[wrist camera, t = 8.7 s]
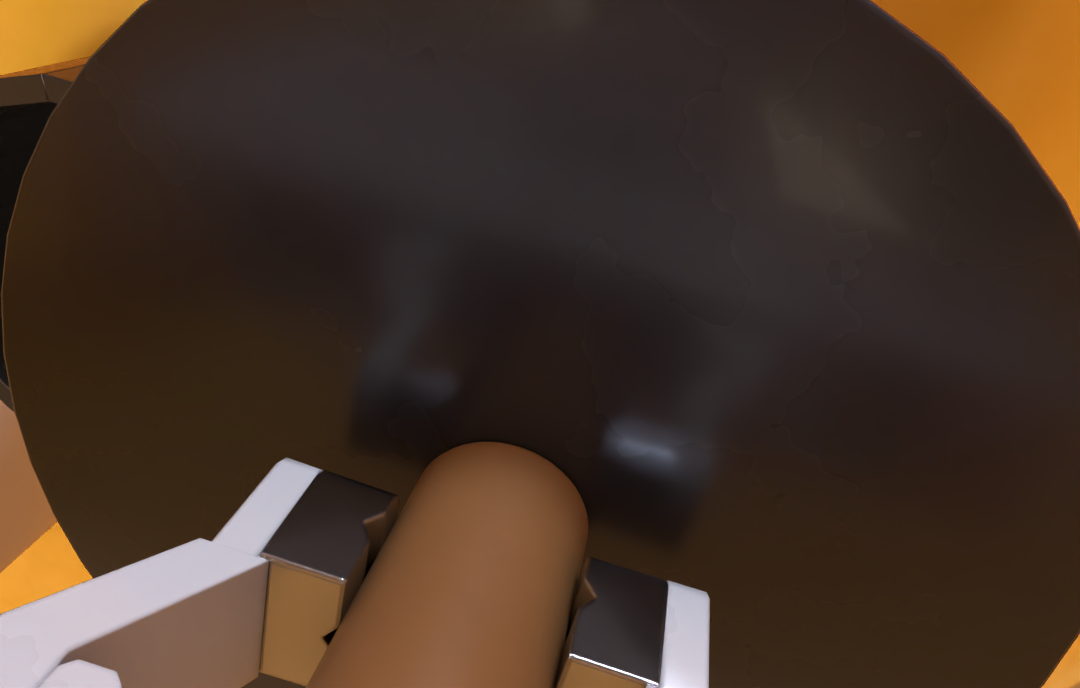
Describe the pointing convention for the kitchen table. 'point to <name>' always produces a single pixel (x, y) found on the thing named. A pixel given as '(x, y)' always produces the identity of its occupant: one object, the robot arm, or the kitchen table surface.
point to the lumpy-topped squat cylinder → (18, 494)
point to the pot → (24, 146)
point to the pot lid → (569, 326)
